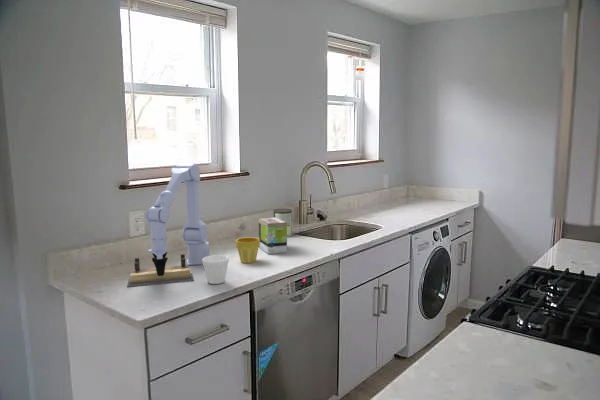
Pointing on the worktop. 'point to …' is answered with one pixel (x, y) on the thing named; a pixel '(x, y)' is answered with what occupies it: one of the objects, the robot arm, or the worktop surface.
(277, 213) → the coffee can
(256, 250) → the plant pot
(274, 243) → the tea box
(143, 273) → the brass rail
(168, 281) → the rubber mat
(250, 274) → the worktop surface
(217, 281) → the cup
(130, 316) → the worktop surface
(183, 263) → the hook rack
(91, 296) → the worktop surface
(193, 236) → the robot arm
